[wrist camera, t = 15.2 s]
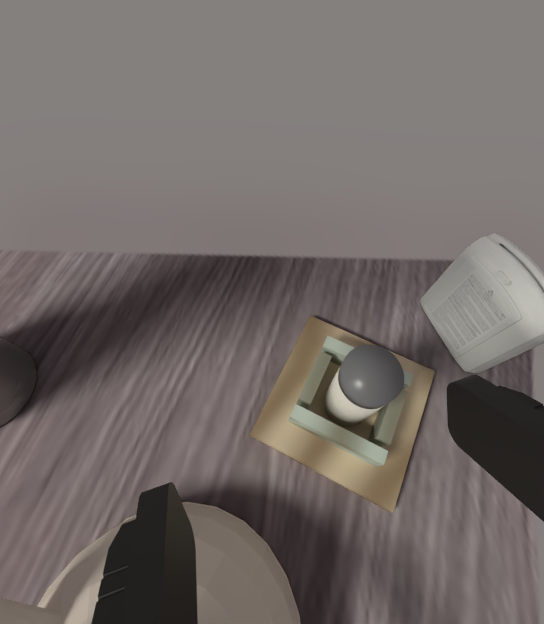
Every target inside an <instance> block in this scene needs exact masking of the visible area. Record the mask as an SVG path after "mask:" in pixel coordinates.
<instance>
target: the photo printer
mask: <svg viewBox="0 0 544 624" xmlns="http://www.w3.org/2000/svg"><path fill="white" fill-rule="evenodd" d="M420 302H421V305H422V307H423V309H424V311H425V313H426V315H427V316H428V318H429V320H430V321H431V323H432V324H433V326H434V328H435V329H436V331H437V333H438V334H439V336H440V337H441V339H442V340H443V342H444V343H445V345H446V347H447V348H448V350H449V351H450V353H451V354H452V356H453V357H454V359H455V360H456V362H457V363H458V364H459V366H460V367H461V368H462V369H463V370H464V371H465V372H471V373H480V372H483V371H485V370H487V369H489V368H491V367H493V366H496V365H498V364H500V363H502V362H504V361H506V360H508V359H511V358H513V357H515V356H517V355H519V354H521V353H523V352H525V351H527V350H530V349H532V348H534V347H536V346H538V345H540V344H542V343H544V272H543V271H542V270H541V269H540V268H539V267H538V266H537V264H536V263H535V262H534V261H533V260H532V259H531V258H530V257H529V256H527V254H526V253H524V252H523V251H522V250H521V249H520V248H518V247H517V246H516V245H515V244H513V243H512V242H510V241H509V240H507V239H506V238H504V237H502V236H500V235H498V234H496V233H493V234H491V235H489V236H483V237H481V238H480V239H478V240H477V241H475V242H474V243H472V244H471V245H469V246H468V247H467V248H466V249H465V250H463V251H462V252H461V253H460V255H459V256H458V257H457V258H456V259H455V260H454V261H453V262H452V264H451V265H450V266H449V267H448V268H447V269H446V271H445V272H444V273H443V274H442V275H441V276H440V277H439V278H438V280H437V281H436V282H435V283H434V284H433V285H432V286H431V288H430V289H429V290H428V291H427V292H426V293H425V294H424V296H423V297H422V298H421V299H420Z"/></svg>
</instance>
